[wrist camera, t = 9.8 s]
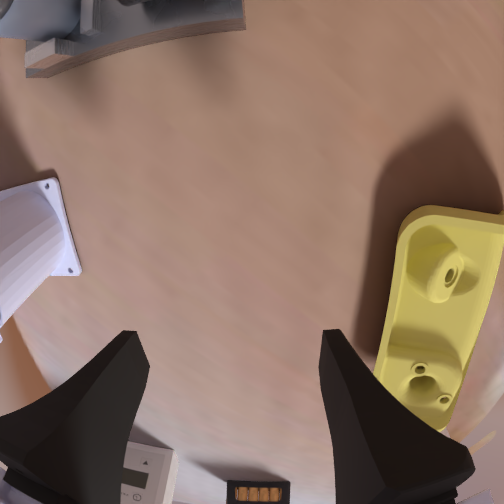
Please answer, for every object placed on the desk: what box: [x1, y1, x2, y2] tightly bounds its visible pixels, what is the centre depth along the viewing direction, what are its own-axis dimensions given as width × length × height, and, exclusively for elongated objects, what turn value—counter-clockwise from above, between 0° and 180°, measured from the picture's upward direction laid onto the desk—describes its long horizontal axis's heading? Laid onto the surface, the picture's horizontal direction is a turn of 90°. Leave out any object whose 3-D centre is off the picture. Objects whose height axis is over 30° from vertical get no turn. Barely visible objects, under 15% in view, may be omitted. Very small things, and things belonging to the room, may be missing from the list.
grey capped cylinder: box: [0, 0, 81, 42], centre depth 8 cm, size 4×4×6 cm
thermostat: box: [121, 441, 179, 504], centre depth 31 cm, size 12×14×15 cm
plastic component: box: [373, 205, 504, 432], centre depth 21 cm, size 20×7×10 cm
